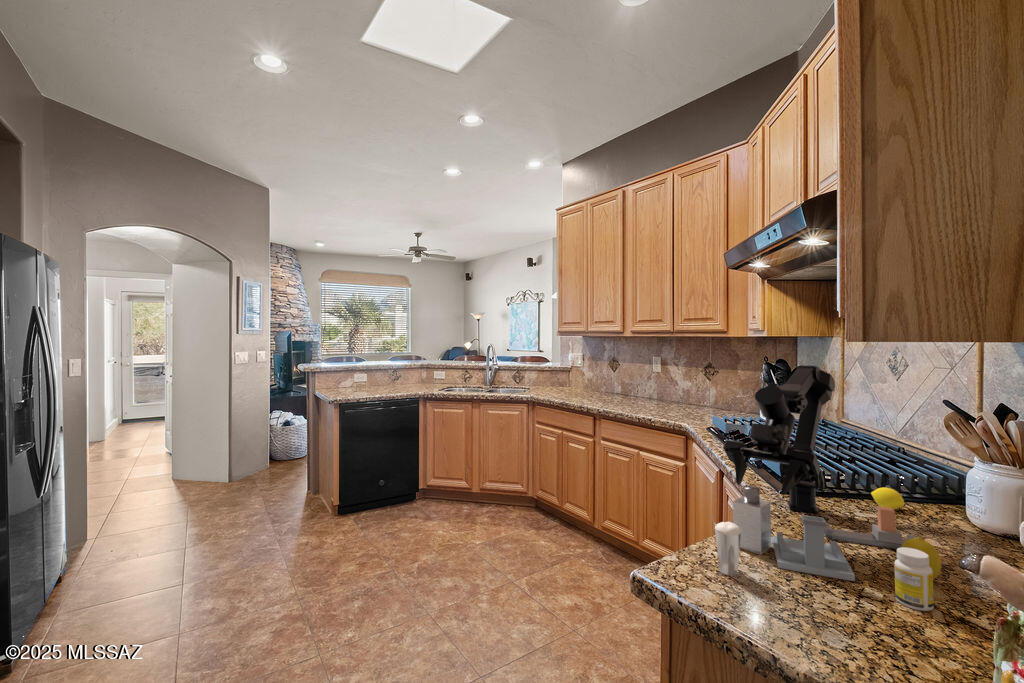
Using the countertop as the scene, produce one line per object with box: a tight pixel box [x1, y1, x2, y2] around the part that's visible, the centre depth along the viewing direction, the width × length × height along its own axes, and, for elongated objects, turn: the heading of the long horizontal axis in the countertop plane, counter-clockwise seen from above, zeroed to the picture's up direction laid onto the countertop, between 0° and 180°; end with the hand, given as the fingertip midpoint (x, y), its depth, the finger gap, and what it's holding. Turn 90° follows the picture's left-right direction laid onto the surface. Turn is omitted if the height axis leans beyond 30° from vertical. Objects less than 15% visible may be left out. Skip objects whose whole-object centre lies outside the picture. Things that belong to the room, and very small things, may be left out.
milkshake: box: [710, 514, 741, 577], centre depth 86 cm, size 4×5×10 cm
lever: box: [871, 505, 903, 544], centre depth 96 cm, size 4×4×6 cm
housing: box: [732, 485, 772, 556], centre depth 96 cm, size 6×6×12 cm
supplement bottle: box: [893, 547, 935, 612], centre depth 74 cm, size 5×5×8 cm
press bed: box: [771, 514, 856, 582], centre depth 90 cm, size 13×12×10 cm
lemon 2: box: [901, 536, 942, 580], centre depth 81 cm, size 6×6×8 cm
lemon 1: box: [870, 486, 905, 511], centre depth 118 cm, size 7×5×5 cm
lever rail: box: [824, 523, 916, 550], centre depth 98 cm, size 4×16×2 cm, turn 64°
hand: (759, 488), depth 99 cm, fingers open, 9 cm apart
